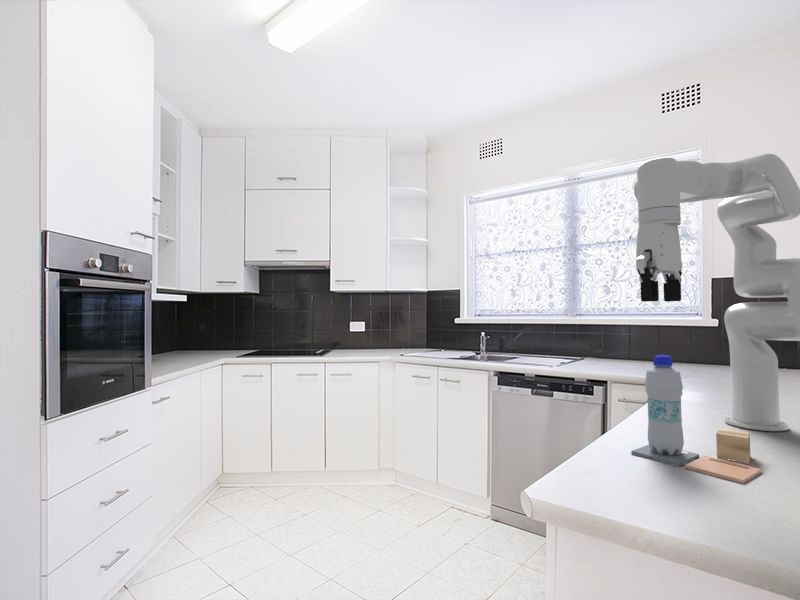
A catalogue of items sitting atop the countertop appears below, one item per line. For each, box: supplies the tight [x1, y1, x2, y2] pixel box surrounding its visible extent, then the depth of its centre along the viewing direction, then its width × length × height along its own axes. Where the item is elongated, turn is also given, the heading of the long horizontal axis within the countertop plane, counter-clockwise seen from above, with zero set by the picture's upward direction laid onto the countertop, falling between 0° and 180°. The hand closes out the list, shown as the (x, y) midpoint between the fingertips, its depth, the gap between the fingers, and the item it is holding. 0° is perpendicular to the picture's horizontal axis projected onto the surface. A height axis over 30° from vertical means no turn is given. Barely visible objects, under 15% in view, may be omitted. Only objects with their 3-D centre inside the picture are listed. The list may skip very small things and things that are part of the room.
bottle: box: [644, 354, 685, 456], centre depth 88 cm, size 7×7×20 cm
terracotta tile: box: [684, 455, 763, 484], centre depth 79 cm, size 9×9×1 cm
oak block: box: [715, 428, 752, 465], centre depth 86 cm, size 5×5×5 cm
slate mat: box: [630, 444, 700, 467], centre depth 88 cm, size 9×9×1 cm
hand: (661, 301), depth 89 cm, fingers open, 9 cm apart
